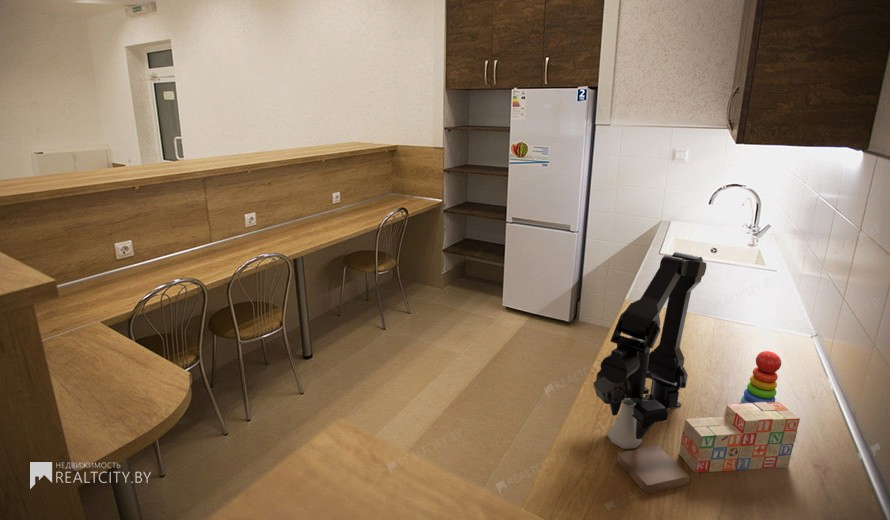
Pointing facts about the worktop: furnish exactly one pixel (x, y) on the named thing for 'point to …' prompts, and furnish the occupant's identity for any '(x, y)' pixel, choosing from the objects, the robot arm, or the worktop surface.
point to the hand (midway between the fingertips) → (626, 426)
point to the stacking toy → (763, 379)
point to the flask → (625, 427)
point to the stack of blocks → (740, 438)
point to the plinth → (652, 469)
